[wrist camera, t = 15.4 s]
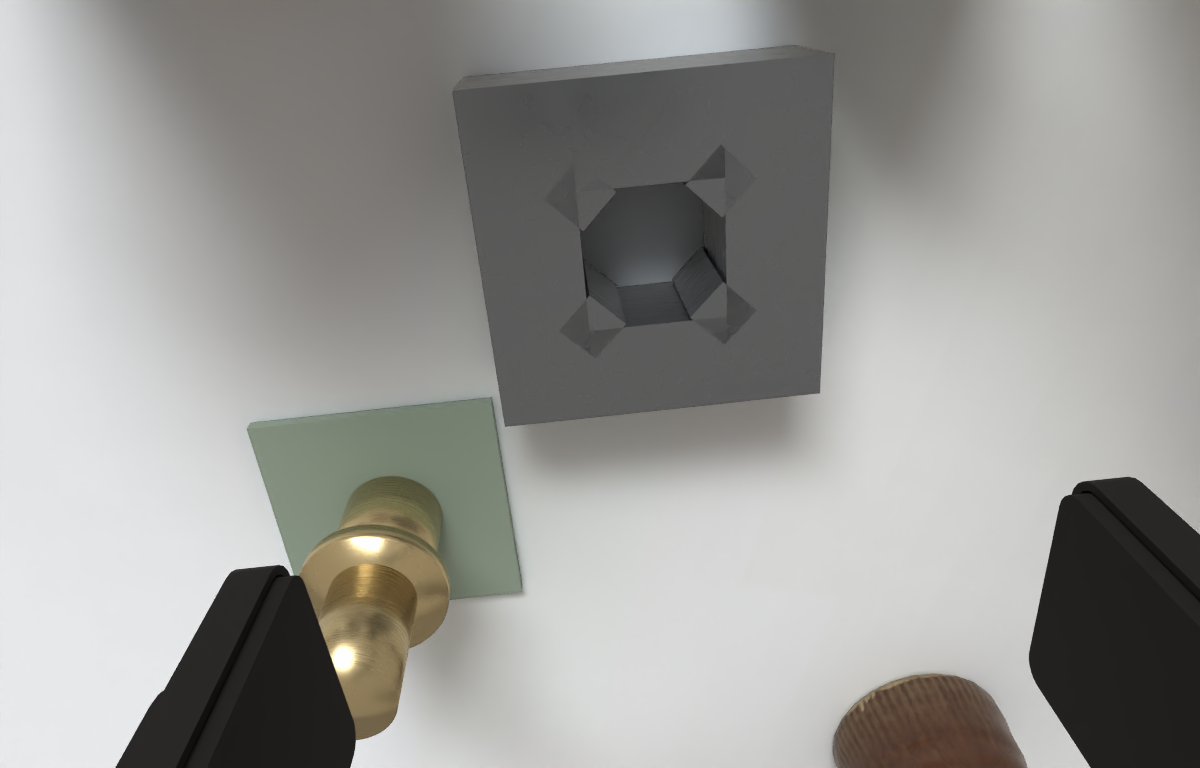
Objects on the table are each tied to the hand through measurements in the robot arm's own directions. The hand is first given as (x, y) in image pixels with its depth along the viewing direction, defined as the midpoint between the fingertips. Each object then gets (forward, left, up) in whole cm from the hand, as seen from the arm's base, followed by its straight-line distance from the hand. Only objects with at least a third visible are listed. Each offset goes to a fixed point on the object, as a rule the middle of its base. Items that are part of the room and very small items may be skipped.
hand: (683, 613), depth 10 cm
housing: (-3, +3, -28) cm, 29 cm away
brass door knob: (+11, +17, -28) cm, 34 cm away
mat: (+11, +17, -28) cm, 35 cm away
